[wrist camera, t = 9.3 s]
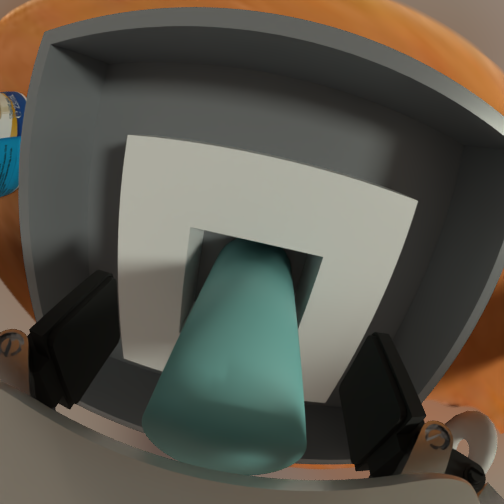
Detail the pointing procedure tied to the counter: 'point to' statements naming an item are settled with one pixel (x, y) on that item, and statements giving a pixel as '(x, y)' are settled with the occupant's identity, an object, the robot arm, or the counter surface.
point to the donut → (475, 436)
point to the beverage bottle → (10, 139)
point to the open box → (259, 191)
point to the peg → (235, 370)
